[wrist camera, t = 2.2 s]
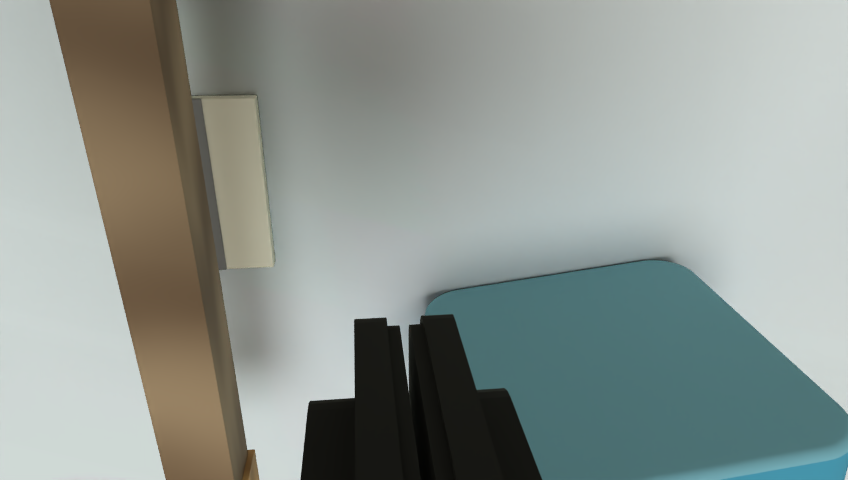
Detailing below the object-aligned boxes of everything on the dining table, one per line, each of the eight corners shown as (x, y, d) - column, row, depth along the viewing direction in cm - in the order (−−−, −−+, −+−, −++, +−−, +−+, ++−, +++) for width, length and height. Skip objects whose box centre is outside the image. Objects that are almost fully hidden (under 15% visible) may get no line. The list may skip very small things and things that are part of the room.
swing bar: (0, -241, 12) (-75, -285, 10) (179, -234, 13) (143, -275, 10) (176, 497, 21) (156, 557, 19) (277, 489, 22) (268, 547, 19)
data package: (431, 372, 29) (478, 619, 18) (420, 293, 27) (466, 516, 16) (669, 333, 29) (855, 550, 18) (675, 253, 27) (887, 443, 16)
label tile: (118, 97, 22) (111, 100, 21) (256, 95, 22) (254, 98, 22) (153, 265, 25) (148, 272, 24) (275, 260, 25) (273, 267, 25)
